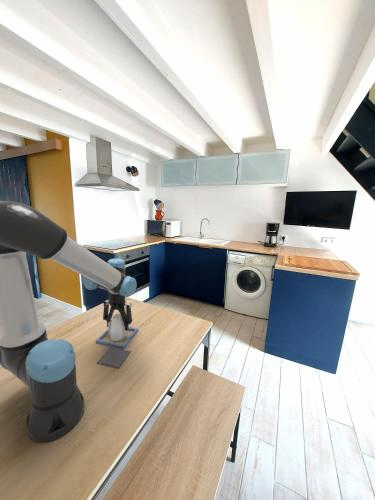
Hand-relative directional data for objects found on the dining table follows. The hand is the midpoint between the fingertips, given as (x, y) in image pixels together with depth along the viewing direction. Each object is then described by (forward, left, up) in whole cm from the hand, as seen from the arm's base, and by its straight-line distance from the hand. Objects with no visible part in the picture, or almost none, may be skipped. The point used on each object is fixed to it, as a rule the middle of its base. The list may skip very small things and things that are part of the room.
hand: (117, 334), depth 103 cm
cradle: (0, 0, -2) cm, 2 cm away
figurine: (0, 0, -2) cm, 2 cm away
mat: (-13, -6, -2) cm, 14 cm away
